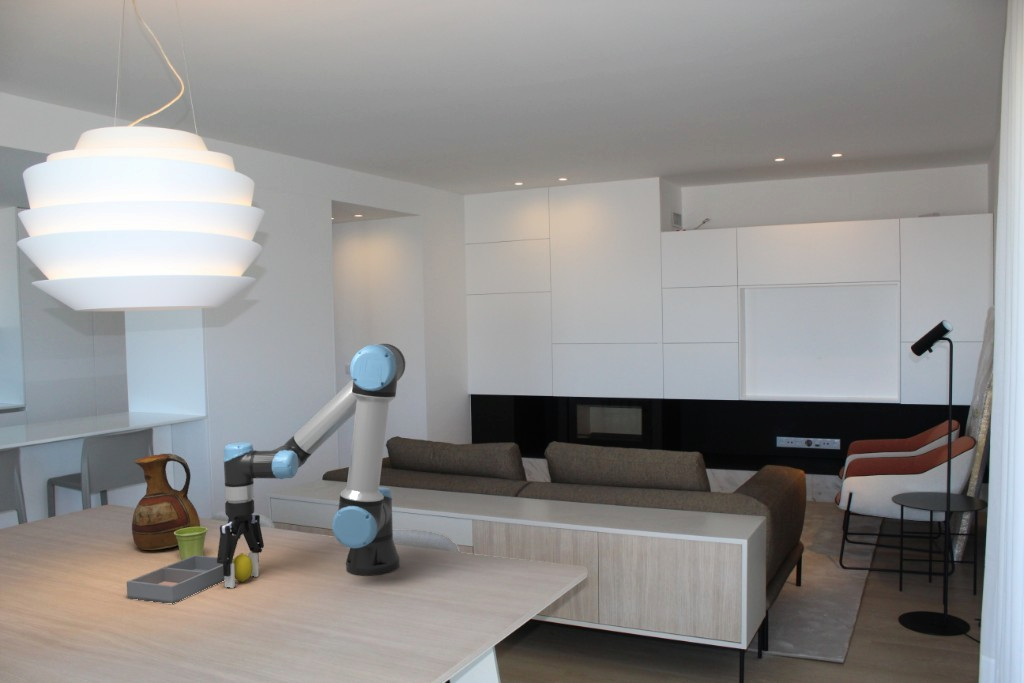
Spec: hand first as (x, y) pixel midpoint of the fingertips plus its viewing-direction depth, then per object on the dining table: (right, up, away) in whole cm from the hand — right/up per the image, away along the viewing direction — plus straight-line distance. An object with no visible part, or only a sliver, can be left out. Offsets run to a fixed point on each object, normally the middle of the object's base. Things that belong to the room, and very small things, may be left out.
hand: (241, 581), depth 223 cm
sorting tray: (-15, -1, -2) cm, 15 cm away
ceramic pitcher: (-37, 0, +38) cm, 53 cm away
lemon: (0, 0, 0) cm, 0 cm away
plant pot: (-23, 0, +24) cm, 33 cm away
